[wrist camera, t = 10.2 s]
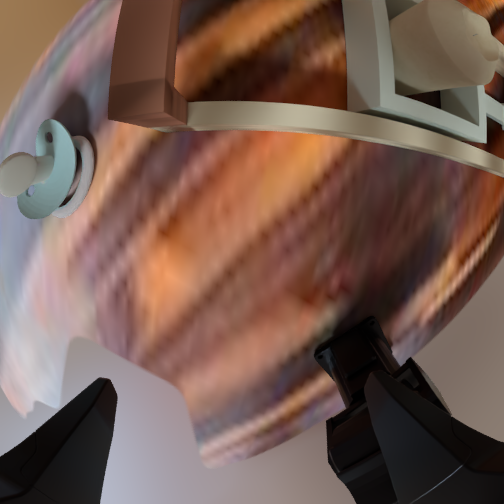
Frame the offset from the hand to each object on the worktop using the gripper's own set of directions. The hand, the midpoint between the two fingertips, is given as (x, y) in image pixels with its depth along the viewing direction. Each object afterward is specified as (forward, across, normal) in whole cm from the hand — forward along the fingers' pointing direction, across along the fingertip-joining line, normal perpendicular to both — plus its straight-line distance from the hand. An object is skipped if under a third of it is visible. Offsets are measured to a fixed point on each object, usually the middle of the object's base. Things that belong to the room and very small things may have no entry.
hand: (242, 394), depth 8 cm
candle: (+12, -11, -15) cm, 22 cm away
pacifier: (+12, +13, -7) cm, 19 cm away
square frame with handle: (+12, -19, -15) cm, 27 cm away
